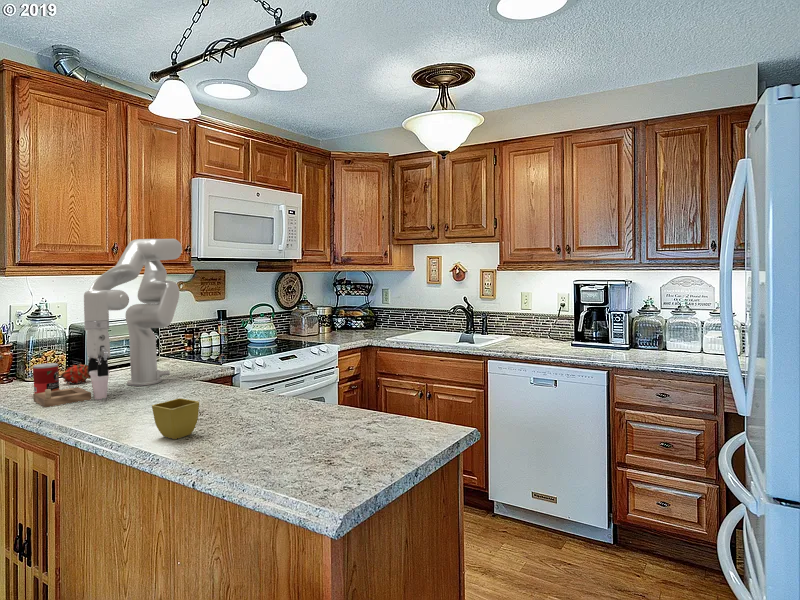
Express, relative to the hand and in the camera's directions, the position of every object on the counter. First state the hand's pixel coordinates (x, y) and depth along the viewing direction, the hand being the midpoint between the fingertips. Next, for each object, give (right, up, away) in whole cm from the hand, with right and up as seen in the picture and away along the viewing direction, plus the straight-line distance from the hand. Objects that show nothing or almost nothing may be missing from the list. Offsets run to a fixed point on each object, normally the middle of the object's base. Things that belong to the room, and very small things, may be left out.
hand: (98, 374), depth 191 cm
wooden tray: (-12, -9, -1) cm, 15 cm away
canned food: (-23, -9, +8) cm, 26 cm away
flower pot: (+46, -11, -45) cm, 65 cm away
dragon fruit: (-24, -8, +28) cm, 38 cm away
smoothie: (0, -9, +1) cm, 9 cm away
